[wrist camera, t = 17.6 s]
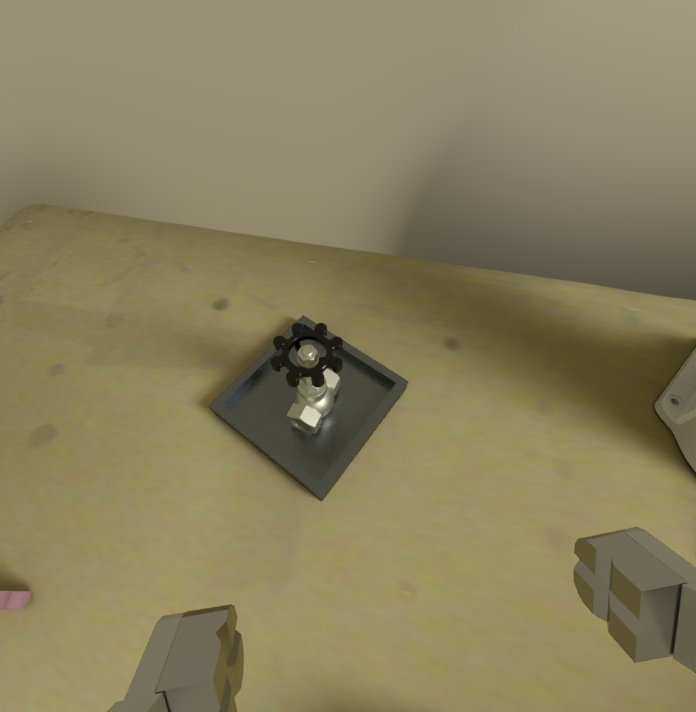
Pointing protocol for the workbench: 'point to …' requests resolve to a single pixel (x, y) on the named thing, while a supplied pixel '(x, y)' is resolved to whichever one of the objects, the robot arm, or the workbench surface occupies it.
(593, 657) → the workbench surface
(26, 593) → the decorative key
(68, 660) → the workbench surface
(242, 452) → the workbench surface
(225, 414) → the dark gray tray
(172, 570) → the workbench surface
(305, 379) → the valve
